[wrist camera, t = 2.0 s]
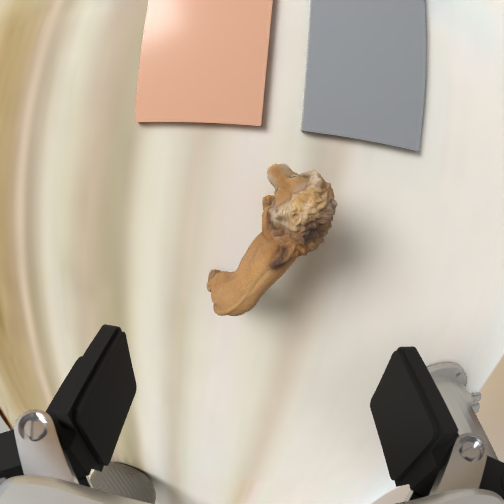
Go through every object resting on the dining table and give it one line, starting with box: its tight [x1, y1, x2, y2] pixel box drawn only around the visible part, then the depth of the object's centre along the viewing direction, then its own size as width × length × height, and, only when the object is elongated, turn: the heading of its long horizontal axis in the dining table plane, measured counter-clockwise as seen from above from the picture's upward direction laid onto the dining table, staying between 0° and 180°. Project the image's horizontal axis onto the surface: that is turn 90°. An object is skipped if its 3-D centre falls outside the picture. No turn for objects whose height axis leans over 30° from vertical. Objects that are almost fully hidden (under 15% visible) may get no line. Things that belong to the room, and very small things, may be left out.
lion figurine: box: [207, 164, 337, 316], centre depth 22 cm, size 15×5×9 cm, turn 153°
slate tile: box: [301, 0, 426, 152], centre depth 19 cm, size 10×16×1 cm, turn 176°
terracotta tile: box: [135, 0, 273, 126], centre depth 19 cm, size 10×16×1 cm, turn 175°
